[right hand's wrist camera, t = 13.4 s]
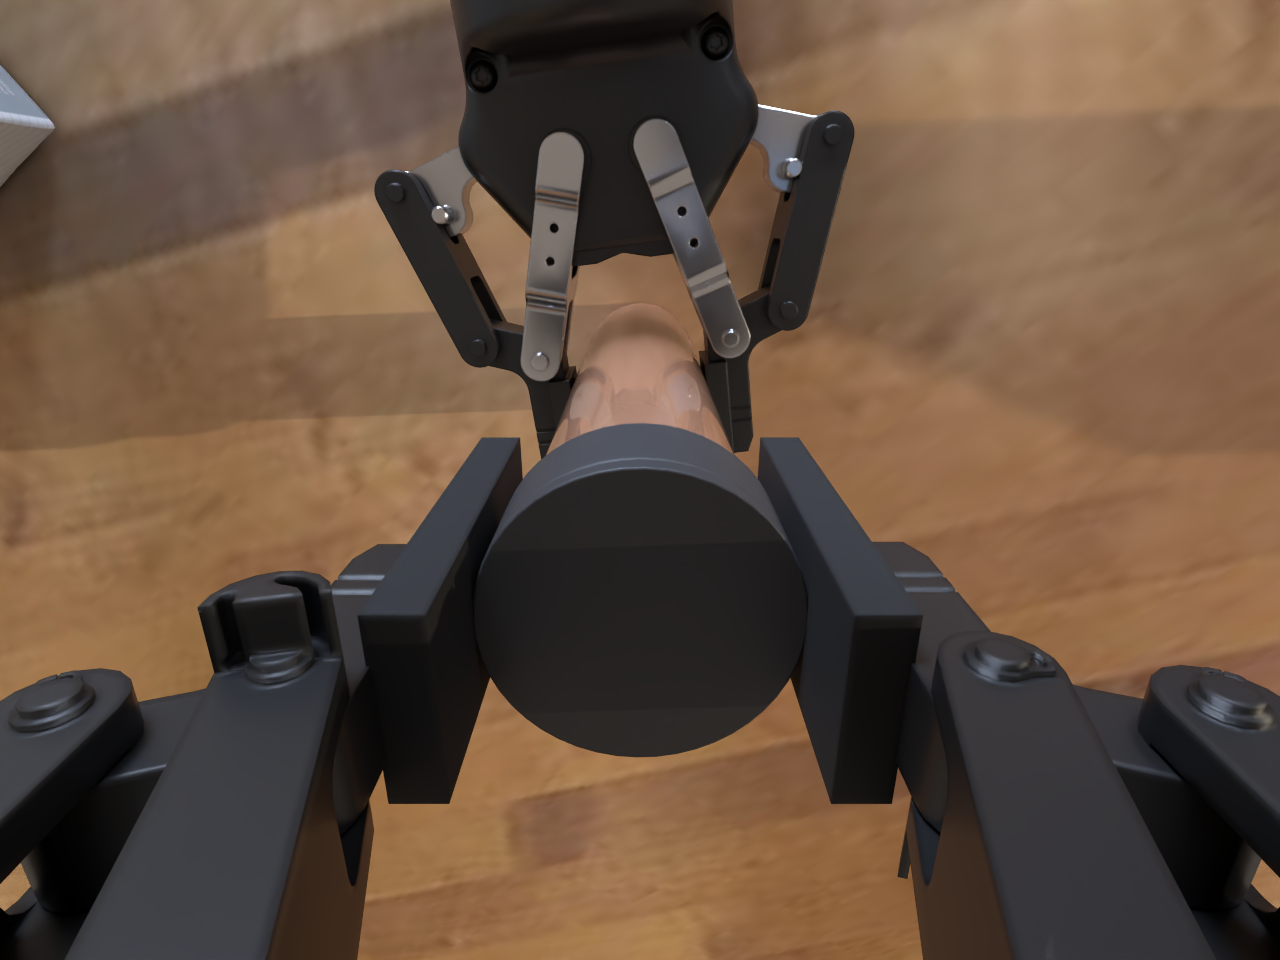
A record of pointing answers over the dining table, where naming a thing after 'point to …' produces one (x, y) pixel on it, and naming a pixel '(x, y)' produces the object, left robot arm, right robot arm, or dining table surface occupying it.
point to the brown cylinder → (640, 379)
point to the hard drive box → (18, 125)
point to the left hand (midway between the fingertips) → (650, 469)
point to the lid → (640, 594)
